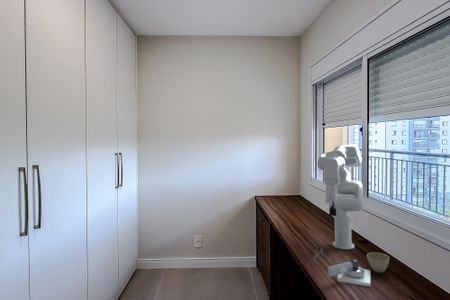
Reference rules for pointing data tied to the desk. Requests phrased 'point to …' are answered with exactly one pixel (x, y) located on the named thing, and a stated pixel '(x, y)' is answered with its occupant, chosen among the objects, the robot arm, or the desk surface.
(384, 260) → the flower pot
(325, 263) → the desk surface
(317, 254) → the pliers
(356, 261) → the dial
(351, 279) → the dial plate
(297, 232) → the desk surface
